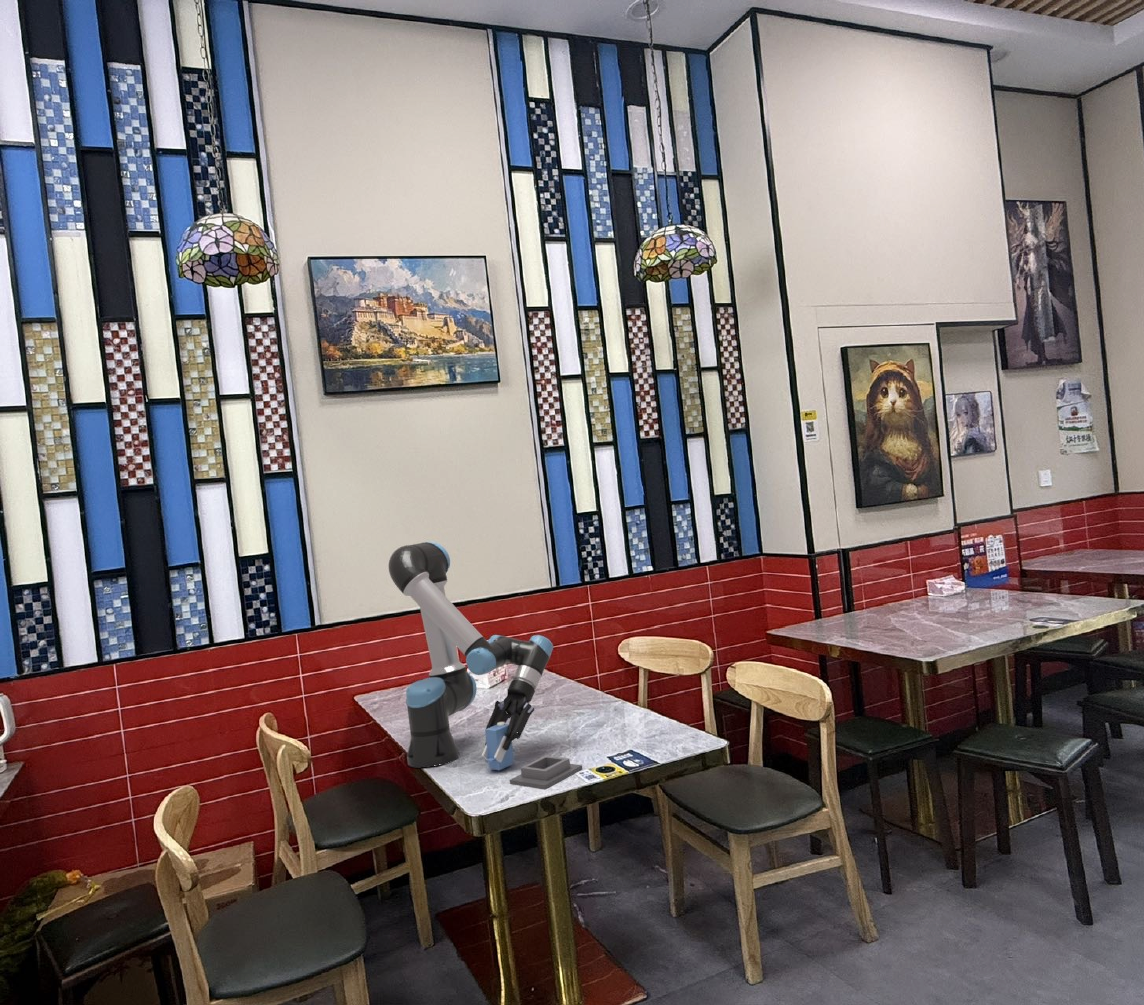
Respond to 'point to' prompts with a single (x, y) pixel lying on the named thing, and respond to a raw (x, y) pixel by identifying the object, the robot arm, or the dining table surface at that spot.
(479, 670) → the robot arm
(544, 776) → the chassis
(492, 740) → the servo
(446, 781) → the dining table surface
